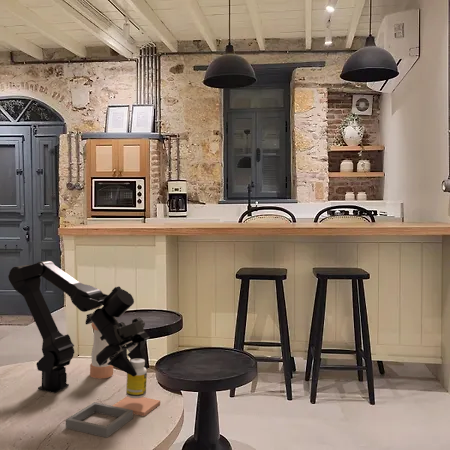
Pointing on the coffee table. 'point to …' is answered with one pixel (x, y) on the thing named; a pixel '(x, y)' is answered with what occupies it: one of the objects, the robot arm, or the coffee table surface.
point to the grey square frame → (95, 429)
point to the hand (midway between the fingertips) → (141, 372)
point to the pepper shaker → (98, 346)
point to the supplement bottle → (137, 379)
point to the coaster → (138, 405)
